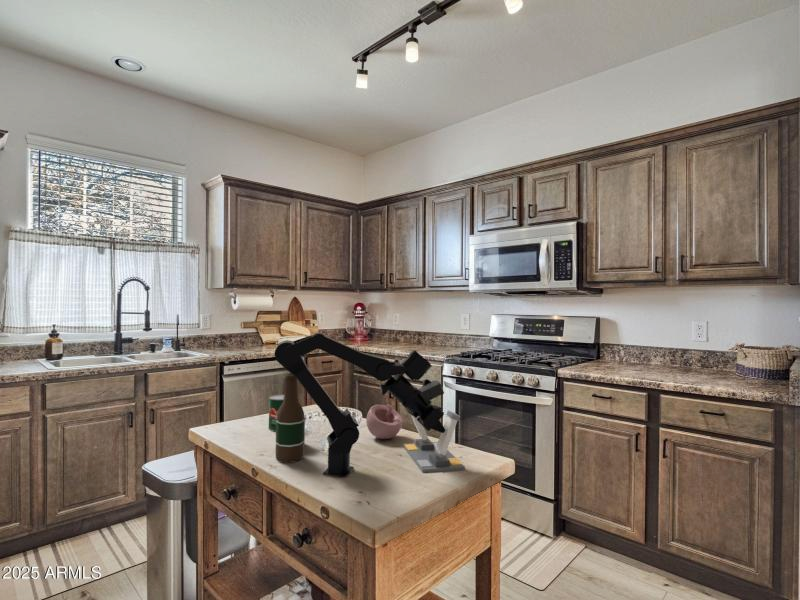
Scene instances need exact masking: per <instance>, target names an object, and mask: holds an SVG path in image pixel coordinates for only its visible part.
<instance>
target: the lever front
mask: <svg viewBox="0 0 800 600" xmlns="http://www.w3.org/2000/svg"><path fill="white" fill-rule="evenodd" d="M445 415H446V418H445V421H444V424H443V427H444V428H445V432H444V433H441V432H440V436H439V438H438V441H437V442H438V443H437V446H436V450H435V453H436V454H437V455H438V456H439V457H440V459H443V458H444V455H445V454H446V451H447V450H449V449H448V448H449V445H450V443H451V440H452V437H453V434H454V433H455V432H454V431H455V428H456V425H457V424H458V421H460V418H461V416H460V415H459V414H457V413H456V412H453V411H450V410H447V412H446V414H445Z"/></svg>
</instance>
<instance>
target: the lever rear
mask: <svg viewBox="0 0 800 600" xmlns="http://www.w3.org/2000/svg"><path fill="white" fill-rule="evenodd" d="M409 414H410V413H409ZM410 417H411V419H412V421H413V424H414V426H415V427H416V430H417V433H418V436H419V437H420V439H423V440H424V441H425V442H426V443H428V442H429V440H430V439H429V436H428V434H427V430H426V429H425V428H424V427H423V426H422V425H421V424H420V422H418V421H417V418H418V417H417V418H415V417H414V416H412V415H411V414H410ZM428 439H429V440H428Z"/></svg>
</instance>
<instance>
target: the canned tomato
mask: <svg viewBox="0 0 800 600" xmlns="http://www.w3.org/2000/svg"><path fill="white" fill-rule="evenodd" d="M268 398H269V402H268V406H269V407H268V430H269V431H271V432H276V417H277V412H278V410H279V408H280V406H281V405H282V403H283V400H284V394H273V395H270V396H269V397H268Z"/></svg>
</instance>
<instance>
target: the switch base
mask: <svg viewBox="0 0 800 600" xmlns="http://www.w3.org/2000/svg"><path fill="white" fill-rule="evenodd" d="M428 440H429V442H428V443H426V442H425V441H424V440H423V439H422V438H418V439H417V438H416V439H415V442H413V443H412V442H411V443H410V442H409V443H402V448H403V449H404V451H406V453H407V454H408V455H409V457H410V458H411V459H412V461H413V462H414V463H415V465H416V466H417V467H418V469H419V470H420V472H421V473H435V472H447V471H463V469H464V470H466V467H465V465H464V464H463V463H462V462H461V461H460V460H459V459H458V458H456V456H455V455H454V454H452V453H451V452H450V450H449V449H447V451H446V454H445V455H444V458H443V459H440V457H439V456H438V455H437V454H436V453H435V450H436V446H437V443H438V441H434V442H433V441H431V440H430V439H429V438H428Z"/></svg>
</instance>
